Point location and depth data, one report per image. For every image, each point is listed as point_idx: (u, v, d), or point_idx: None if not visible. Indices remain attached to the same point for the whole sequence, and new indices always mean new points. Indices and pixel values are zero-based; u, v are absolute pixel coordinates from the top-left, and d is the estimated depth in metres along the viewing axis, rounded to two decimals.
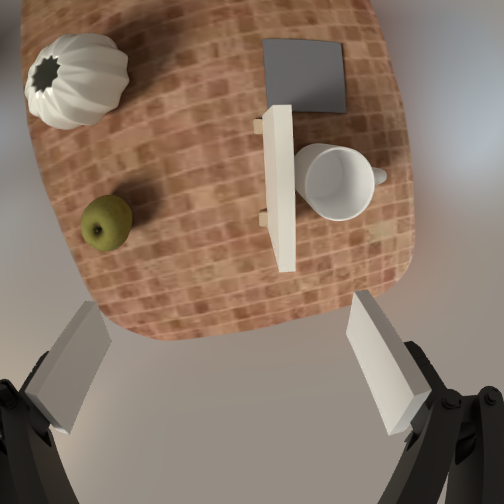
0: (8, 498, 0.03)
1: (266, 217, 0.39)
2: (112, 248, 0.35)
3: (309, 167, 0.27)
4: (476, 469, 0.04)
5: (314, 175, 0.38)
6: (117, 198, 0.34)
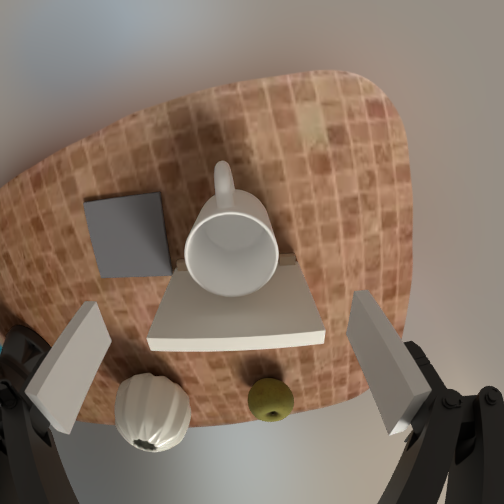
0: (8, 498, 0.03)
1: None
2: (290, 405, 0.40)
3: (213, 292, 0.26)
4: (476, 469, 0.04)
5: (238, 225, 0.34)
6: (251, 393, 0.41)
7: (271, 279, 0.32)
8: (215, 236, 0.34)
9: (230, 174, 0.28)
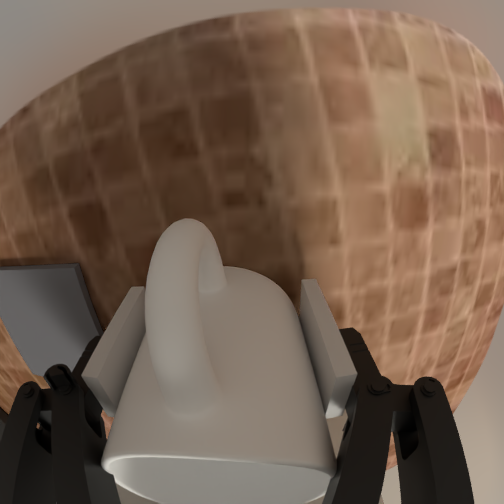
0: (38, 494, 0.04)
1: None
2: None
3: None
4: (424, 465, 0.05)
5: None
6: None
7: None
8: None
9: (211, 249, 0.11)
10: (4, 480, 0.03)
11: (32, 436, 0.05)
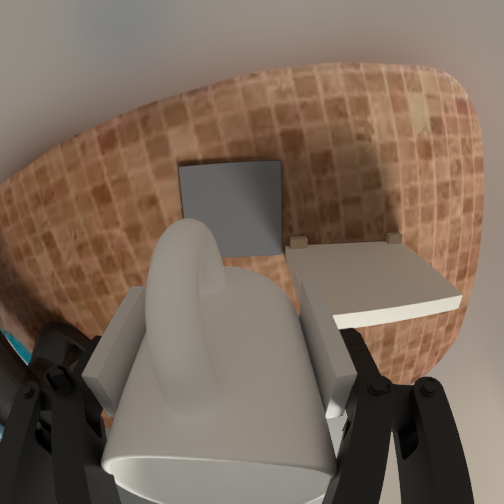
0: (38, 494, 0.04)
1: None
2: None
3: None
4: (424, 465, 0.05)
5: None
6: None
7: (391, 255, 0.30)
8: None
9: (212, 249, 0.10)
10: (4, 481, 0.03)
11: (32, 437, 0.05)
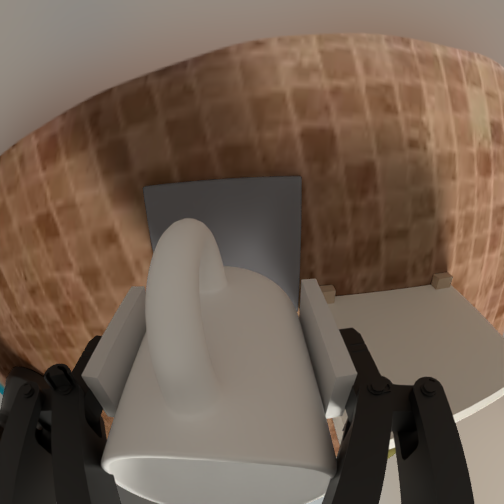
0: (38, 494, 0.04)
1: None
2: None
3: None
4: (424, 465, 0.05)
5: None
6: None
7: (443, 310, 0.19)
8: None
9: (212, 249, 0.10)
10: (4, 481, 0.03)
11: (32, 437, 0.05)
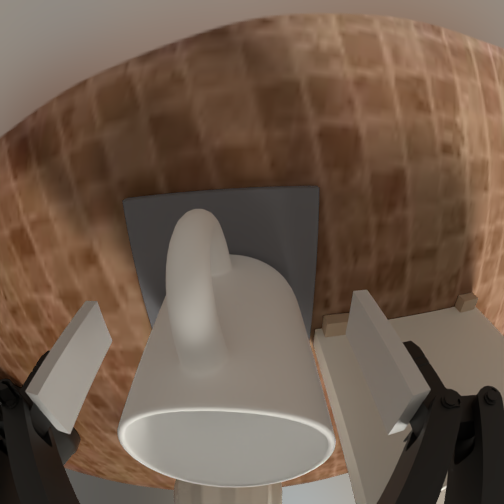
0: (8, 498, 0.03)
1: None
2: None
3: (195, 482, 0.10)
4: (475, 469, 0.04)
5: None
6: None
7: (470, 338, 0.15)
8: None
9: (219, 236, 0.12)
10: None
11: None
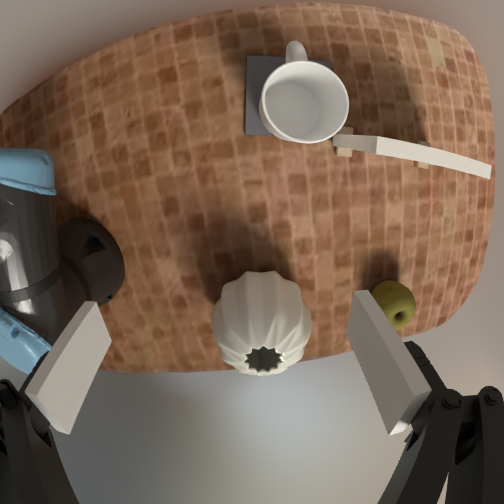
0: (8, 498, 0.03)
1: None
2: (415, 305, 0.37)
3: (285, 135, 0.24)
4: (476, 469, 0.04)
5: (295, 114, 0.32)
6: (378, 292, 0.39)
7: None
8: (272, 121, 0.32)
9: None
10: None
11: None
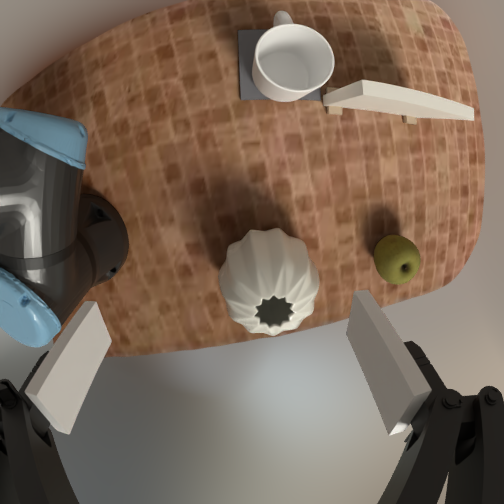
0: (8, 498, 0.03)
1: (410, 117, 0.34)
2: None
3: (279, 86, 0.24)
4: (476, 469, 0.04)
5: (286, 78, 0.32)
6: (381, 245, 0.39)
7: None
8: None
9: None
10: None
11: None
